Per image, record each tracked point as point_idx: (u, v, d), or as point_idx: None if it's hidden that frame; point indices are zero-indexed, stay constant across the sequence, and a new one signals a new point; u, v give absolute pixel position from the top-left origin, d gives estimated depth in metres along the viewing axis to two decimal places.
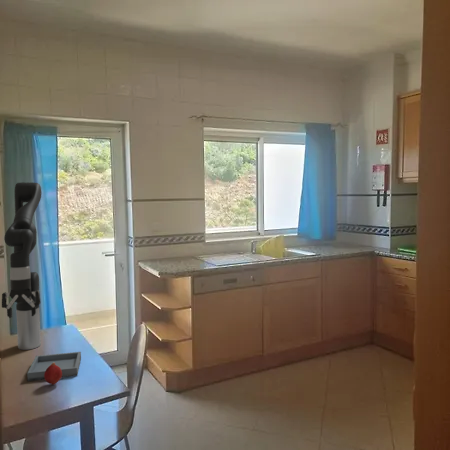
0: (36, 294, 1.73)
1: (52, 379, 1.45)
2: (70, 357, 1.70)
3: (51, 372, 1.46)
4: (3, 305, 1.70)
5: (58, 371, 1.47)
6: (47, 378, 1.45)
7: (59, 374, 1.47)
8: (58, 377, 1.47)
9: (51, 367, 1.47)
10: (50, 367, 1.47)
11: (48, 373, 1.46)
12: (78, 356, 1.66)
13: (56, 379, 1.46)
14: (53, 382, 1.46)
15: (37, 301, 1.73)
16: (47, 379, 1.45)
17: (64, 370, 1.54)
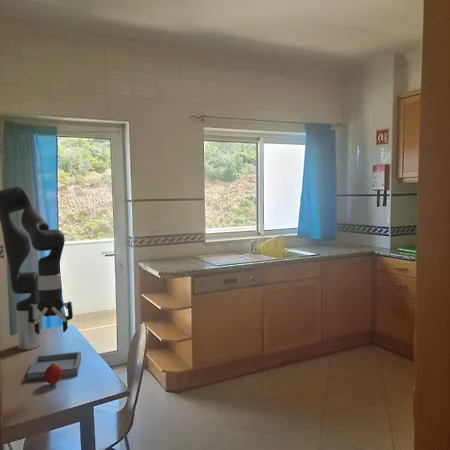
0: (68, 306, 1.47)
1: (52, 379, 1.45)
2: (70, 357, 1.70)
3: (51, 372, 1.46)
4: (30, 319, 1.44)
5: (58, 371, 1.47)
6: (47, 378, 1.45)
7: (59, 374, 1.47)
8: (58, 377, 1.47)
9: (51, 367, 1.47)
10: (50, 367, 1.47)
11: (48, 373, 1.46)
12: (78, 356, 1.66)
13: (56, 379, 1.46)
14: (53, 382, 1.46)
15: (69, 314, 1.47)
16: (47, 379, 1.45)
17: (64, 370, 1.54)
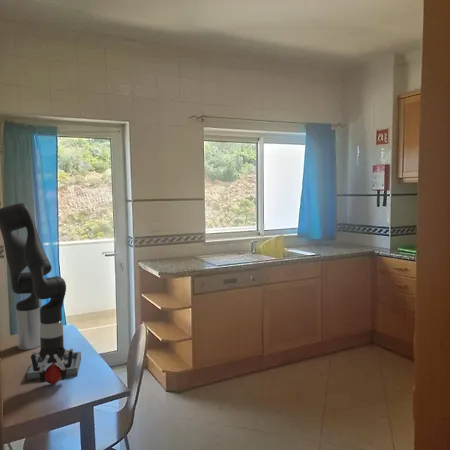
0: (69, 355, 1.48)
1: (52, 379, 1.45)
2: None
3: (51, 372, 1.46)
4: (35, 368, 1.45)
5: (58, 371, 1.47)
6: (47, 378, 1.45)
7: (59, 374, 1.47)
8: (58, 377, 1.47)
9: (51, 367, 1.47)
10: (50, 367, 1.47)
11: (48, 373, 1.46)
12: (78, 356, 1.66)
13: (56, 379, 1.46)
14: (53, 382, 1.46)
15: (69, 363, 1.48)
16: (47, 379, 1.45)
17: None
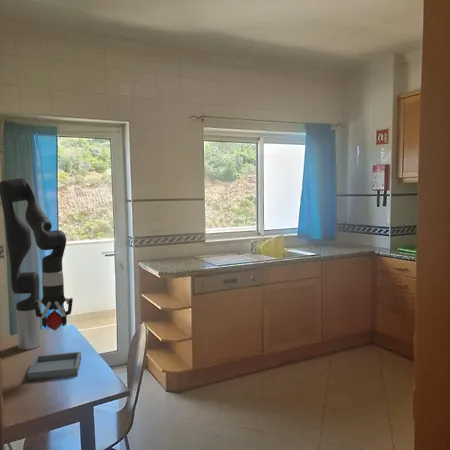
0: (69, 302, 1.60)
1: (53, 324, 1.58)
2: (70, 357, 1.70)
3: (52, 318, 1.58)
4: (38, 314, 1.57)
5: (59, 317, 1.59)
6: (49, 323, 1.58)
7: (60, 320, 1.59)
8: (59, 323, 1.59)
9: (53, 314, 1.59)
10: (51, 313, 1.59)
11: (49, 319, 1.58)
12: (78, 356, 1.66)
13: (57, 324, 1.58)
14: (54, 327, 1.59)
15: (69, 310, 1.60)
16: (49, 324, 1.58)
17: (64, 370, 1.54)
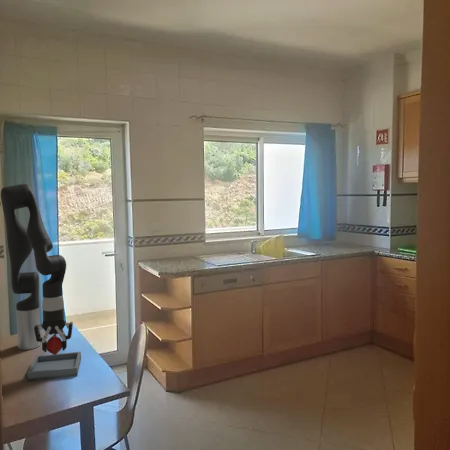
0: (69, 327, 1.61)
1: (53, 349, 1.58)
2: (70, 357, 1.70)
3: (52, 342, 1.58)
4: (38, 339, 1.58)
5: (59, 342, 1.60)
6: (49, 348, 1.58)
7: (60, 344, 1.60)
8: (59, 347, 1.59)
9: (53, 338, 1.59)
10: (52, 338, 1.59)
11: (49, 344, 1.58)
12: (78, 356, 1.66)
13: (57, 349, 1.59)
14: (54, 352, 1.59)
15: (69, 334, 1.61)
16: (49, 349, 1.58)
17: (64, 370, 1.54)
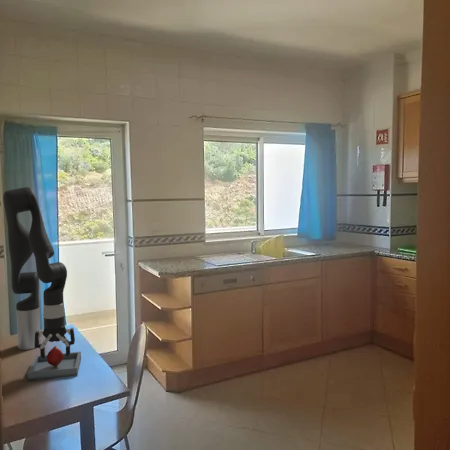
0: (71, 333, 1.61)
1: (54, 361, 1.59)
2: (70, 357, 1.70)
3: (53, 354, 1.59)
4: (36, 345, 1.58)
5: (59, 354, 1.60)
6: (49, 360, 1.59)
7: (60, 356, 1.60)
8: (59, 359, 1.60)
9: (53, 350, 1.60)
10: (52, 350, 1.60)
11: (50, 356, 1.59)
12: (78, 356, 1.66)
13: (58, 361, 1.59)
14: (55, 364, 1.60)
15: (72, 340, 1.61)
16: (49, 361, 1.59)
17: (64, 370, 1.54)
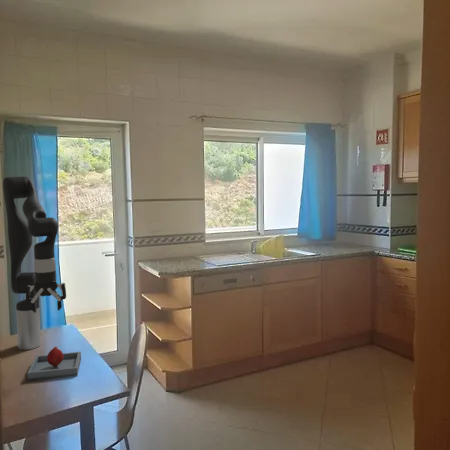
0: (62, 287, 1.62)
1: (54, 361, 1.59)
2: (70, 357, 1.70)
3: (53, 355, 1.59)
4: (27, 299, 1.59)
5: (60, 354, 1.60)
6: (50, 360, 1.59)
7: (61, 357, 1.60)
8: (60, 359, 1.60)
9: (54, 351, 1.60)
10: (52, 350, 1.60)
11: (50, 356, 1.59)
12: (78, 356, 1.66)
13: (58, 361, 1.59)
14: (55, 364, 1.60)
15: (63, 295, 1.62)
16: (50, 361, 1.59)
17: (64, 370, 1.54)
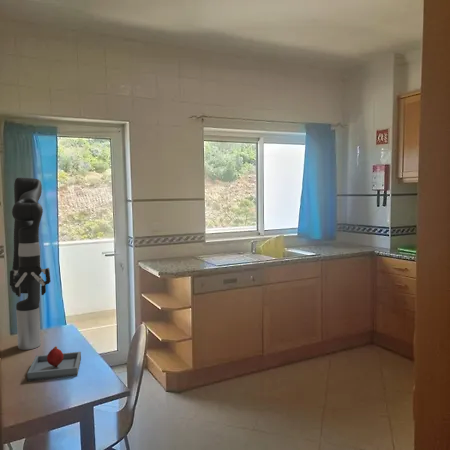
0: (46, 272, 1.63)
1: (54, 361, 1.59)
2: (70, 357, 1.70)
3: (53, 355, 1.59)
4: (11, 283, 1.60)
5: (60, 354, 1.60)
6: (50, 360, 1.59)
7: (61, 357, 1.60)
8: (60, 359, 1.60)
9: (54, 351, 1.60)
10: (52, 350, 1.60)
11: (50, 356, 1.59)
12: (78, 356, 1.66)
13: (58, 361, 1.59)
14: (55, 364, 1.60)
15: (47, 279, 1.63)
16: (50, 361, 1.59)
17: (64, 370, 1.54)
